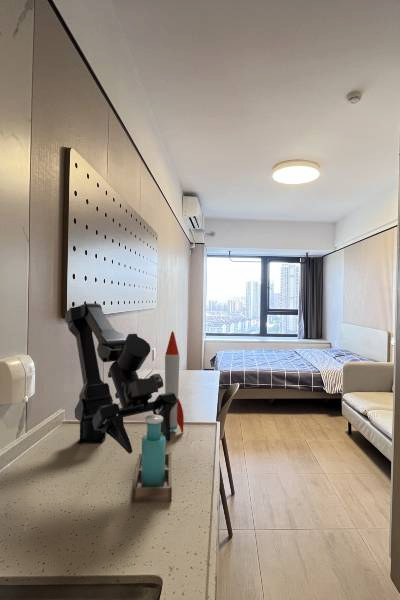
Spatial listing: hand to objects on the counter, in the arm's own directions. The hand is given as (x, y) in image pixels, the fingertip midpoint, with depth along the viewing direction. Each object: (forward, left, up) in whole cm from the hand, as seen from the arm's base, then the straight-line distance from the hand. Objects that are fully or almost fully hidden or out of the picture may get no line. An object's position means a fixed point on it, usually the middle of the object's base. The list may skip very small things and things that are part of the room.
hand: (150, 446), depth 71 cm
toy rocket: (+5, +30, -9) cm, 32 cm away
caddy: (+1, +3, -9) cm, 9 cm away
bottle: (+1, -1, -8) cm, 8 cm away
